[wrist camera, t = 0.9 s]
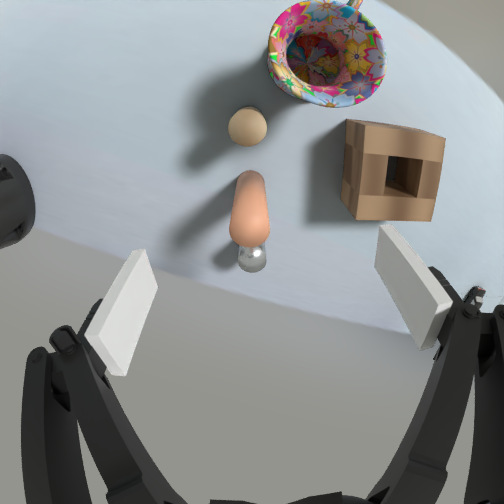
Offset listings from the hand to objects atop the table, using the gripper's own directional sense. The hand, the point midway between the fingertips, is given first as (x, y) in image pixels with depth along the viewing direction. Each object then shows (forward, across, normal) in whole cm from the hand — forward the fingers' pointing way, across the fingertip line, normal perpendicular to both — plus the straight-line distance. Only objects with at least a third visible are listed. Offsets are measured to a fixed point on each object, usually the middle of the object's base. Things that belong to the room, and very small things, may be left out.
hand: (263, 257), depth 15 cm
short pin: (+19, -2, -9) cm, 21 cm away
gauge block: (+19, +15, 0) cm, 24 cm away
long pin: (+19, -1, -2) cm, 19 cm away
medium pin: (+19, 0, +6) cm, 20 cm away
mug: (+19, +7, +13) cm, 24 cm away
